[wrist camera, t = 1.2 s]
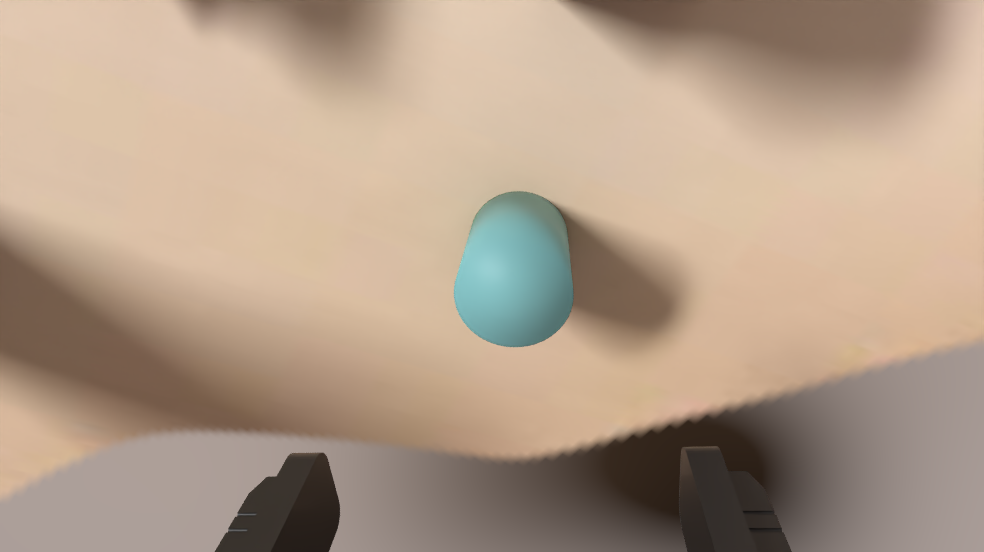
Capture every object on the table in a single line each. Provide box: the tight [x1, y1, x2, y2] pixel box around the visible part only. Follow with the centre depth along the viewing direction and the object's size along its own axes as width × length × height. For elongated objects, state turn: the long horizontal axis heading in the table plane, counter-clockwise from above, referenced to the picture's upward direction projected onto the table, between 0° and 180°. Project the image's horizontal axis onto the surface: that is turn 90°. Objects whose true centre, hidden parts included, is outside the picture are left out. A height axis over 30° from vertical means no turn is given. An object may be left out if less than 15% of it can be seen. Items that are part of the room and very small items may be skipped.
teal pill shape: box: [454, 191, 573, 347], centre depth 26 cm, size 5×5×6 cm
